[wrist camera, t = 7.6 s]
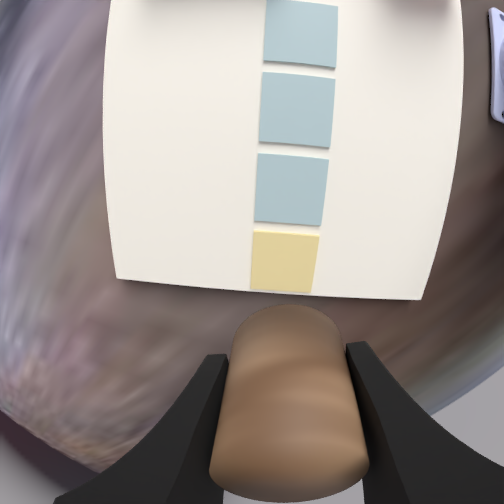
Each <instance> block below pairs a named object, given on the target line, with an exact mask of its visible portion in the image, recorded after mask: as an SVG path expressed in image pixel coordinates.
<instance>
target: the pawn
mask: <svg viewBox="0 0 504 504" xmlns="http://www.w3.org/2000/svg"><path fill="white" fill-rule="evenodd" d="M368 469H369V458H368V453H367V448H366V443H365V438H364V433H363V428H362V423H361V419H360V414H359V410H358V405H357V401H356V396H355V392H354V387H353V383H352V379H351V375H350V371H349V367H348V363H347V359H346V355H345V351H344V347H343V343H342V339H341V335H340V332H339V330H338V328H337V326H336V325H335V323H334V322H333V321H332V320H331V319H330V318H329V317H328V316H327V315H325V314H324V313H322V312H320V311H318V310H316V309H314V308H311V307H307V306H303V305H295V304H283V305H276V306H272V307H268V308H265V309H262V310H260V311H258V312H256V313H254V314H253V315H251V316H250V317H248V318H247V319H246V320H245V321H244V322H243V323H242V324H241V325H240V327H239V328H238V330H237V331H236V334H235V336H234V340H233V345H232V350H231V356H230V361H229V366H228V372H227V377H226V382H225V388H224V393H223V398H222V403H221V409H220V414H219V419H218V425H217V430H216V436H215V441H214V446H213V452H212V457H211V462H210V468H209V474H210V476H211V478H212V480H213V481H214V482H215V483H216V484H217V485H218V486H220V487H221V488H223V489H224V490H226V491H228V492H230V493H233V494H235V495H238V496H241V497H244V498H248V499H253V500H258V501H265V502H277V503H281V502H282V503H285V502H286V503H288V502H302V501H310V500H315V499H320V498H324V497H327V496H331V495H334V494H336V493H339V492H341V491H344V490H346V489H348V488H349V487H351V486H353V485H354V484H356V483H357V482H358V481H360V480H361V479H362V478H363V477H364V476H365V474H366V473H367V471H368Z"/></svg>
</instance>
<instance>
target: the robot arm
mask: <svg viewBox="0 0 504 504" xmlns="http://www.w3.org/2000/svg"><path fill="white" fill-rule="evenodd" d="M500 17H501V18H500ZM501 19H502V20H501ZM489 21H490V33H491V50H492V93H491V115H492V117H493V119H495V120H497V121H499V122H502V123H504V116H503V117H502V112H503V115H504V13H503V12H501V11H499V10H498V9H496V8H491V9H489ZM346 359H347V363H348V367H349V371H350V375H351V379H352V383H353V387H354V392H355V396H356V401H357V405H358V410H359V414H360V419H361V423H362V428H363V433H364V438H365V443H366V448H367V453H368V458H369V469H368V471H367V473H366V474H365V476H364V477H363V478H362V481H363V490H364V502H365V504H504V467H503V466H500V465H498V464H497V463H495V462H493V461H491V460H489V459H488V458H486V457H484V456H482V455H481V454H479V453H477V452H476V451H474V450H473V449H472V448H470V447H469V446H467V445H466V444H464V443H463V442H461V441H459V440H458V439H457V438H455V437H454V436H453V435H451V434H450V433H449V432H448V431H447V430H445V429H444V428H443V427H442V426H440V425H439V424H438V423H437V422H436V421H435V420H433V418H431V417H430V416H429V415H428V414H427V413H426V412H425V411H424V410H423V409H422V408H421V407H420V406H419V405H418V404H417V403H416V402H415V401H414V400H413V399H412V398H411V397H410V396H409V395H408V393H407V392H406V391H405V390H404V389H403V388H402V387H401V386H400V384H399V383H398V382H397V381H396V380H395V379H394V377H393V376H392V375H391V374H390V373H389V371H388V370H387V369H386V368H385V366H384V365H383V364H382V362H381V361H380V360H379V358H378V357H377V356H376V354H375V353H374V352H373V350H372V349H371V347H370V346H369V344H368V343H367V342H365V341H361V342H354V343H347V344H346ZM228 366H229V363H228V359H227V355H226V354H214V355H207V356H206V357H205V359H204V361H203V362H202V364H201V365H200V367H199V368H198V370H197V371H196V373H195V374H194V376H193V377H192V379H191V380H190V382H189V383H188V385H187V386H186V387H185V389H184V390H183V392H182V393H181V394H180V396H179V397H178V398H177V400H176V401H175V402H174V404H173V405H172V406H171V407H170V409H169V410H168V411H167V412H166V413H165V415H164V416H163V417H162V418H161V419H160V421H159V422H158V423H157V424H156V425H155V426H154V427H153V429H152V430H151V431H150V432H149V433H148V434H147V435H146V436H145V437H144V438H143V439H142V440H141V441H140V442H139V443H138V444H137V445H136V446H134V447H133V448H132V449H131V450H130V451H129V452H128V453H126V454H125V455H124V456H123V457H122V458H121V459H119V460H118V461H117V462H116V463H114V464H113V465H112V466H110V467H109V468H107V469H106V470H104V471H103V472H101V473H100V474H98V475H97V476H96V477H94V478H92V479H91V480H89V481H88V482H86V483H84V484H83V485H81V486H79V487H77V488H75V489H73V490H71V491H69V492H67V493H65V494H63V495H61V496H59V497H57V498H55V501H54V503H53V504H223V493H224V489H223V488H221V487H220V486H218V485H217V484H216V483H215V482H214V481H213V480H212V478H211V476H210V474H209V468H210V462H211V457H212V452H213V446H214V441H215V436H216V430H217V425H218V419H219V414H220V409H221V403H222V398H223V393H224V388H225V382H226V377H227V372H228Z"/></svg>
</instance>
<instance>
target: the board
mask: <svg viewBox="0 0 504 504" xmlns="http://www.w3.org/2000/svg"><path fill="white" fill-rule="evenodd" d="M462 94H463V30H462V15H461V4H460V0H111V6H110V13H109V21H108V30H107V40H106V51H105V65H104V84H103V152H104V172H105V187H106V199H107V210H108V219H109V228H110V236H111V244H112V251H113V258H114V264H115V270H116V276H117V278H119V279H128V280H137V281H146V282H155V283H165V284H174V285H185V286H195V287H206V288H217V289H229V290H241V291H254V292H267V293H281V294H296V295H313V296H331V297H351V298H374V299H403V300H421V298H422V295H423V292H424V289H425V286H426V283H427V280H428V277H429V274H430V270H431V267H432V264H433V260H434V257H435V253H436V250H437V246H438V243H439V239H440V235H441V231H442V227H443V223H444V219H445V214H446V210H447V205H448V201H449V196H450V191H451V185H452V180H453V174H454V168H455V162H456V155H457V148H458V140H459V131H460V122H461V110H462Z"/></svg>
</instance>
